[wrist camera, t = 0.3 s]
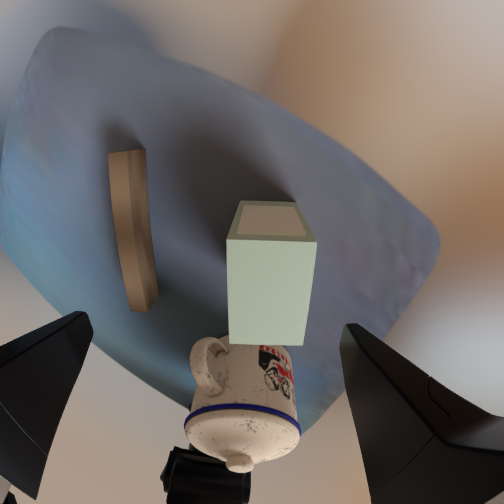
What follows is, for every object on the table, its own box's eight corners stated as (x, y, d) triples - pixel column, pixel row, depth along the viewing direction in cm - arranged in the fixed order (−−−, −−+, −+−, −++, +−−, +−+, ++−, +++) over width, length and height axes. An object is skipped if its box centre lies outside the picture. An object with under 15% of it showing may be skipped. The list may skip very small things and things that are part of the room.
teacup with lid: (306, 376, 26) (318, 475, 16) (229, 397, 28) (218, 488, 17) (256, 288, 22) (250, 410, 11) (166, 322, 24) (121, 426, 13)
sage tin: (296, 200, 19) (317, 239, 12) (290, 278, 22) (302, 347, 14) (240, 198, 19) (226, 236, 12) (239, 277, 22) (229, 345, 15)
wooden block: (159, 292, 23) (147, 312, 20) (142, 291, 23) (129, 310, 20) (145, 148, 18) (127, 151, 15) (126, 150, 18) (106, 153, 15)
